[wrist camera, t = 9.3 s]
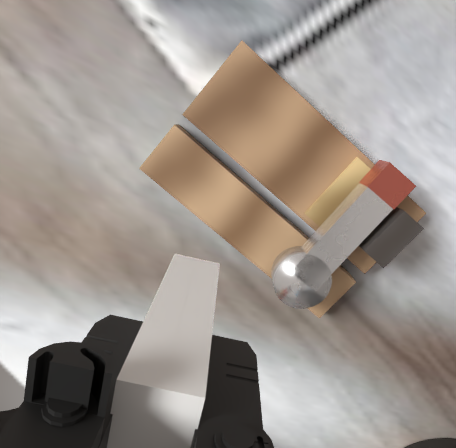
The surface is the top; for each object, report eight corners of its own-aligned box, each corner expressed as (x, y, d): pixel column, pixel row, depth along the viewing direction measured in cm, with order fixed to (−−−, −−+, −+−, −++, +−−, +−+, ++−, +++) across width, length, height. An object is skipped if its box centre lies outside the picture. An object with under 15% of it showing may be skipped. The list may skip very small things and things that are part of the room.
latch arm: (300, 307, 33) (305, 319, 31) (259, 275, 32) (261, 285, 30) (412, 189, 30) (425, 194, 28) (370, 152, 30) (380, 154, 28)
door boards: (413, 206, 35) (452, 225, 29) (314, 305, 37) (330, 342, 31) (241, 46, 32) (242, 27, 26) (145, 165, 34) (126, 174, 28)
